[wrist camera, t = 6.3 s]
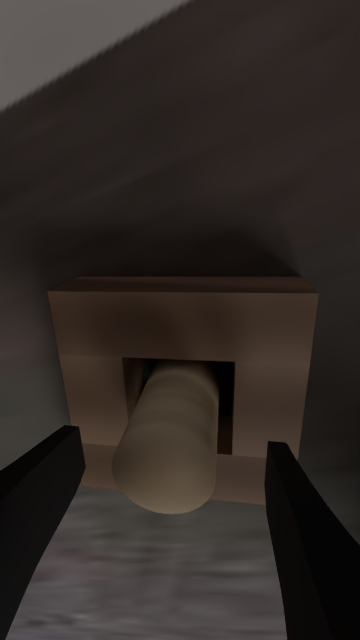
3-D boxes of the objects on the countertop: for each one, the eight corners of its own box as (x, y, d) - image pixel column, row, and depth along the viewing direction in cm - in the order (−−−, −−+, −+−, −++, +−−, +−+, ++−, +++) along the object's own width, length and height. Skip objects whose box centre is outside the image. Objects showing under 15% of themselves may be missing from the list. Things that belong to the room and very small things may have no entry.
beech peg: (218, 402, 17) (214, 519, 11) (156, 398, 18) (115, 507, 11) (220, 344, 16) (217, 437, 10) (153, 341, 17) (106, 427, 10)
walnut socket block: (281, 461, 18) (291, 507, 15) (102, 446, 20) (82, 486, 17) (301, 276, 14) (319, 293, 12) (78, 276, 16) (47, 291, 13)
